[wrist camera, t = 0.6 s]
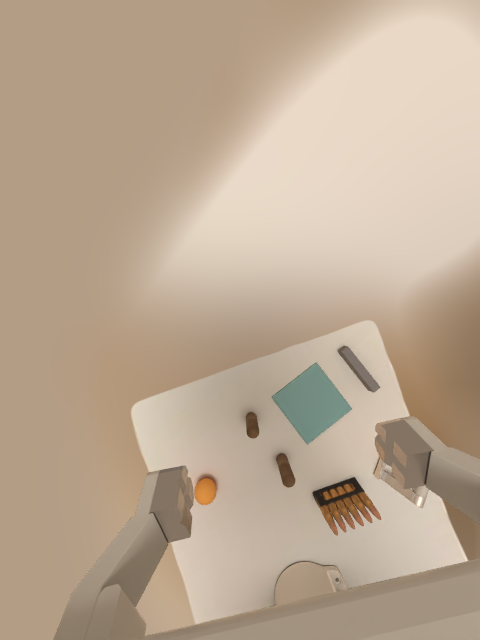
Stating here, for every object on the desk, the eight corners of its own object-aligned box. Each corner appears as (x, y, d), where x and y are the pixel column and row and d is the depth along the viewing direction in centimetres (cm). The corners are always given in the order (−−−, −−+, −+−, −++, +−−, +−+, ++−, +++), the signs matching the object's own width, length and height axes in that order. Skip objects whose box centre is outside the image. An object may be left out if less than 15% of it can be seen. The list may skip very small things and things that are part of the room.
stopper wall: (374, 385, 59) (380, 387, 57) (368, 390, 59) (373, 392, 57) (343, 346, 60) (348, 346, 58) (337, 351, 60) (341, 351, 58)
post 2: (289, 460, 58) (297, 482, 49) (280, 466, 58) (287, 490, 49) (282, 451, 58) (289, 471, 49) (274, 457, 58) (279, 479, 49)
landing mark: (351, 408, 59) (352, 408, 59) (306, 444, 59) (307, 444, 58) (316, 362, 60) (316, 362, 60) (271, 397, 59) (271, 397, 59)
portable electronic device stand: (384, 439, 59) (408, 455, 50) (415, 452, 58) (444, 471, 50) (372, 473, 58) (394, 496, 50) (403, 487, 58) (430, 512, 49)
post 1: (258, 418, 59) (261, 433, 50) (250, 425, 59) (251, 440, 50) (252, 410, 59) (254, 422, 50) (243, 416, 59) (244, 430, 50)
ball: (221, 486, 58) (219, 500, 53) (204, 500, 58) (201, 515, 53) (209, 469, 58) (206, 481, 53) (192, 482, 58) (187, 496, 53)
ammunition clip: (315, 499, 58) (334, 541, 46) (312, 491, 58) (330, 531, 46) (357, 484, 58) (387, 522, 46) (354, 477, 58) (383, 512, 46)
